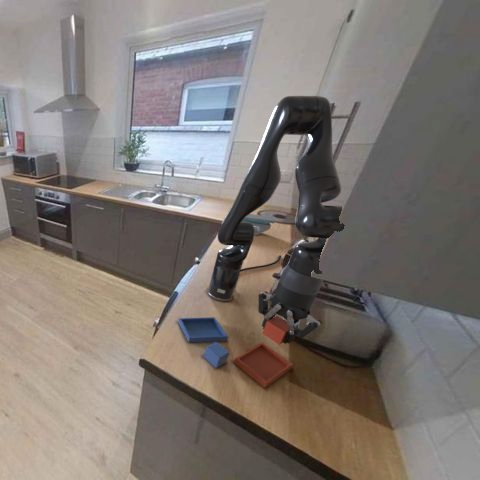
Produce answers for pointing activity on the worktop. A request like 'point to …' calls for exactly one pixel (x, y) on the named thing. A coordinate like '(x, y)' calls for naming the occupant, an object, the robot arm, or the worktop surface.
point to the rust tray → (263, 364)
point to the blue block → (216, 354)
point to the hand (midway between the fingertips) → (275, 335)
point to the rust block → (276, 329)
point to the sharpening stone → (259, 222)
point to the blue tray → (202, 329)
